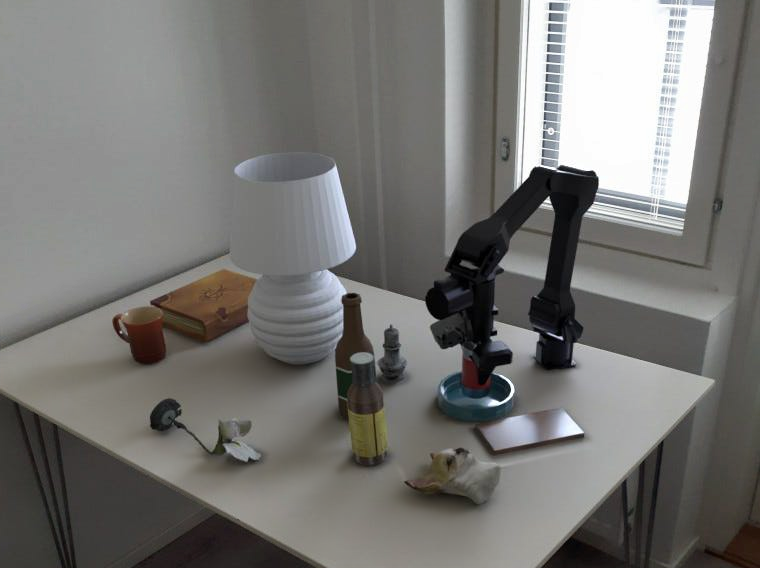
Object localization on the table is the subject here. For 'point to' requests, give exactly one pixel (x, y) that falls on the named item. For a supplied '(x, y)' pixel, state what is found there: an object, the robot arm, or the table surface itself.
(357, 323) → the beer bottle
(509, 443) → the board
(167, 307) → the diary
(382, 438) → the sauce bottle
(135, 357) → the mug
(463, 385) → the can
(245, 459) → the artificial flower
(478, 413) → the dish
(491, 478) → the ceramic sculpture
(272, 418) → the table surface
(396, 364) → the grey tall rounded piece
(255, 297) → the table lamp
